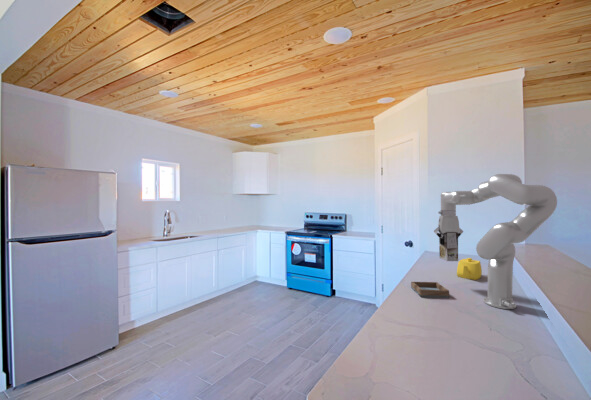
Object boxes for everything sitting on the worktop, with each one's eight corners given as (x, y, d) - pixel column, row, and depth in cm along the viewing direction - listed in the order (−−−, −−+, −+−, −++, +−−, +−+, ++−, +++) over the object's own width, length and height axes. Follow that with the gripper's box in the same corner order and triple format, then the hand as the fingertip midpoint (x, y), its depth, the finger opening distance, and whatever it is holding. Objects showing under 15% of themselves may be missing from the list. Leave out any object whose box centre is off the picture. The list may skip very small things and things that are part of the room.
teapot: (475, 282, 165) (476, 262, 165) (453, 278, 174) (453, 259, 174) (484, 275, 179) (484, 257, 178) (462, 271, 188) (462, 254, 187)
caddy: (449, 297, 140) (449, 290, 140) (420, 297, 141) (420, 290, 141) (436, 288, 154) (436, 282, 154) (411, 287, 155) (411, 281, 155)
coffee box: (458, 261, 153) (458, 232, 153) (447, 261, 153) (446, 232, 153) (450, 258, 162) (449, 230, 162) (438, 258, 163) (438, 230, 163)
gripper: (435, 213, 155) (435, 245, 155) (467, 213, 154) (467, 245, 154) (429, 213, 162) (430, 243, 162) (460, 213, 161) (460, 243, 161)
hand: (448, 244), depth 158 cm, fingers closed on coffee box, 6 cm apart
